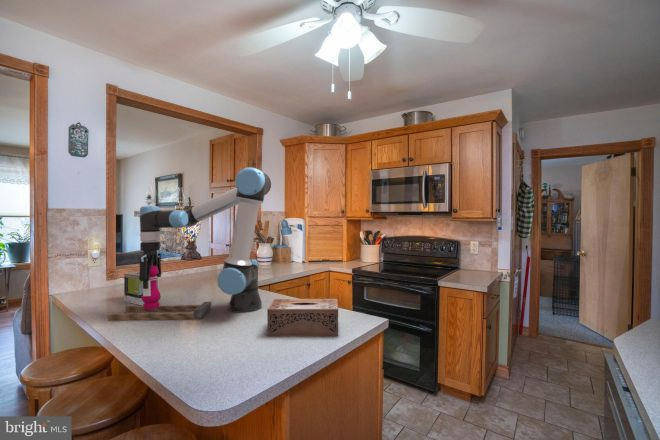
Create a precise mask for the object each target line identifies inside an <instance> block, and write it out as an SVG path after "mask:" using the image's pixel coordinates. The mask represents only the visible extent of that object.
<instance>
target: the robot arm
mask: <svg viewBox="0 0 660 440" xmlns="http://www.w3.org/2000/svg"><path fill="white" fill-rule="evenodd" d="M234 185H235V188H232V189H229V190H228V191H225V192H223V193H221V194H219V195H217V196H214V197H211V198H210V199H208V200H205V201H204V202H203V201H202V202H201V203H199V204H197V205H194V206H192V207H190V208H188V209H185V210H180V209H177V210H176V209H174V210H160V207H159V206H157V205H155V206H153V205H152V206H151V205H148V206H147V205H145V206H140V208H139V225H140V226H139V229H140V231H139V233H140V234H139V237H140V239H139V240H140V245H139V246H140V247H139V248H140V251H142V252H143V256H140V257H138V259H139V260H138V261H139V271H140V276H139V280H140V281H143V296H151V290H150V281H149V277H150V270H151V265H152V264H153V266H156V267H157V268H158V270H159V272H158V274H157V275H156V276H157V280H156V285H157V288H158V290H159V289H160V285H159V284H160V281H159V279H160V278H161V277H162V263H161V262H162V261H161V255H162V254H161V253H158V251H160V250H161V242H160V240H161V228H162V229H165V228H166V229H169V228H172V229H174V228H175V229H180V228H186V227H187V228H191V227H194V226H196V225H197V224H198V223H200V222H201V221H202V222H203V221H204V220H206V219H208V218H211V217H213V216H215V215H217V214H219V213H222V212H224V211H226V210H229V209H231V208H233V207H235V206H237V210H236V215H235V221H234V227H233V233H232V237H231V243H230V249H229V255H228V257H227V258H225V259H224V262H223V267H222V270H220V272H219V274H218V277H217V285H218V288H219V289H220V290H221V291H222V292H223V293H224V294H227V295H231V297H230V300H229V303H228V310H229V311H231V312H234V313H247V312H248V313H249V312H254V311H257V310H260V309H262V306H263V304H262V303H263V302H262V298H261V296H260V293H259V270H258V269H259V262H258V260H257V259H250V258H251V257H250V256H251V251H252V245H253V242H254V241H253V240H254V234H255V230H256V225H257V224H256V223H257V218H258V213H259V207H260V205H261V204H263V203H264V200H265V196H266V195H267V194H268V193H269V192H270V191H271V189H272V182H271V178H270V177H269V176H268V175H267V174H266V173H265V172H263V171H262V170H261V169H259V168H255V167H245V168H242V169H241V170H239V172H238V173H237V174H236V176H235V180H234ZM159 291H160V290H159Z"/></svg>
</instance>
